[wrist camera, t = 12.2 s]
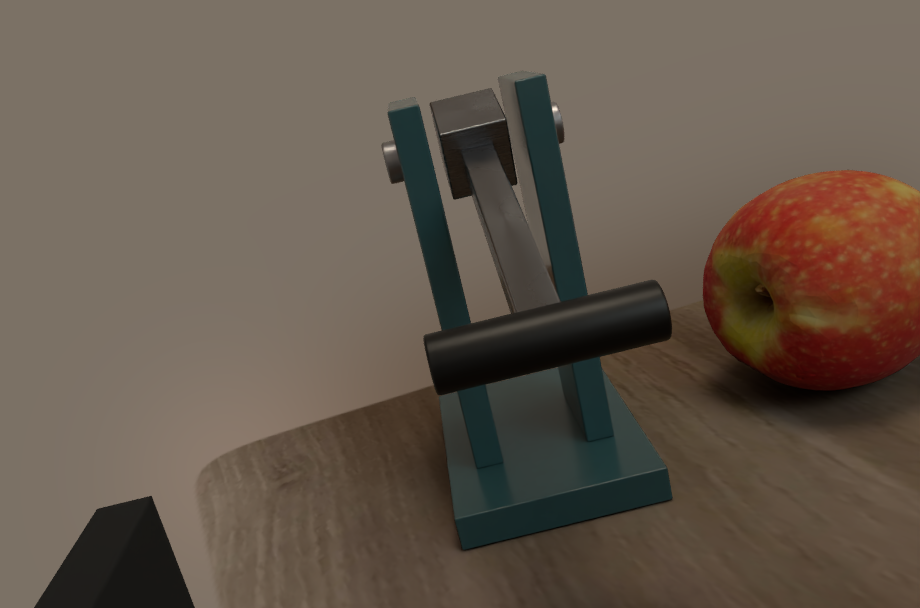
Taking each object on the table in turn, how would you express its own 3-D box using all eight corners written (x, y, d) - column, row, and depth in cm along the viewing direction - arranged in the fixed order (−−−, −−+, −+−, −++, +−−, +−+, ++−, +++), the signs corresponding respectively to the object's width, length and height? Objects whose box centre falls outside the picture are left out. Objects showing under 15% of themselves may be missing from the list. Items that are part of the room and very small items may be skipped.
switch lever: (675, 367, 19) (670, 284, 18) (444, 423, 19) (422, 344, 18) (547, 139, 30) (538, 75, 29) (398, 175, 30) (382, 113, 29)
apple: (688, 384, 35) (658, 197, 32) (838, 318, 37) (821, 141, 35) (845, 451, 27) (822, 217, 25) (1016, 363, 30) (1010, 145, 28)
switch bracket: (673, 499, 27) (598, 67, 23) (462, 551, 27) (350, 127, 23) (600, 382, 37) (538, 62, 33) (444, 420, 37) (363, 105, 32)
